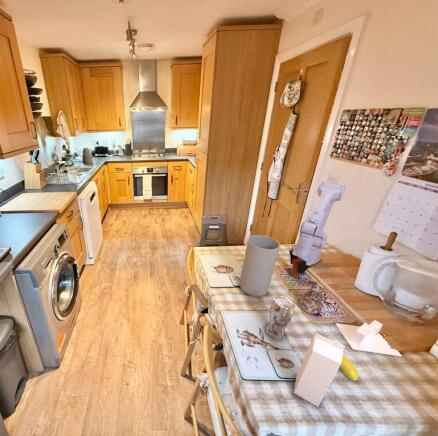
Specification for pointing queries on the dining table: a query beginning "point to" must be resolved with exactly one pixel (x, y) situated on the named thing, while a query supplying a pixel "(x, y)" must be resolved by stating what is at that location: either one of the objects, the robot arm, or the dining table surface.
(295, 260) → the spice lid
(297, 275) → the spice jar
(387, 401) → the dining table surface
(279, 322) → the beer glass
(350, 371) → the lemon
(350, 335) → the napkin holder
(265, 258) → the cylinder vase
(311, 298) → the figurine
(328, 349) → the milk
